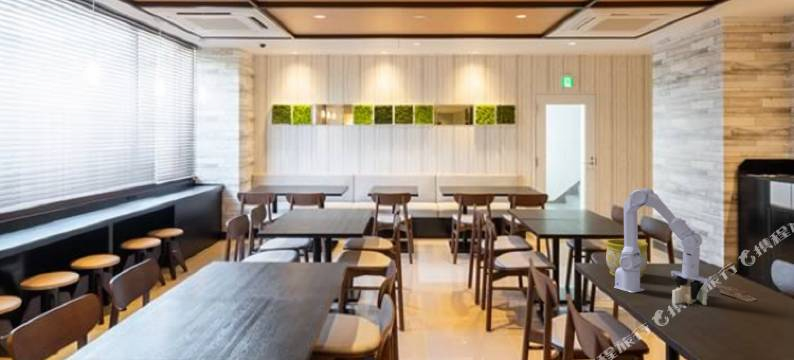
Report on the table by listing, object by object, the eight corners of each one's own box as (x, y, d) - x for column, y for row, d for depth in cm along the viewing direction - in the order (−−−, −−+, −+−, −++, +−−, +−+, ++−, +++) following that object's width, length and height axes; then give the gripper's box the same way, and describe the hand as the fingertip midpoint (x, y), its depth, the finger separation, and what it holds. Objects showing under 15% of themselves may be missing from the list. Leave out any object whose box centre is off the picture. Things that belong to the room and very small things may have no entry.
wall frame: (671, 303, 198) (671, 288, 198) (702, 295, 208) (703, 281, 208) (675, 304, 197) (676, 290, 196) (707, 296, 207) (708, 282, 206)
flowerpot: (605, 279, 235) (606, 244, 234) (605, 270, 251) (606, 237, 250) (648, 282, 228) (649, 246, 227) (645, 273, 245) (646, 239, 244)
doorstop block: (679, 300, 202) (680, 285, 201) (686, 298, 204) (686, 284, 203) (689, 303, 198) (689, 288, 198) (695, 301, 200) (696, 286, 200)
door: (703, 304, 195) (703, 292, 194) (695, 297, 204) (695, 285, 204) (708, 305, 194) (708, 292, 194) (700, 297, 204) (700, 285, 203)
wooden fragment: (763, 303, 197) (763, 300, 197) (731, 302, 199) (732, 299, 199) (732, 285, 223) (732, 283, 223) (704, 285, 225) (704, 282, 225)
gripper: (666, 261, 204) (665, 294, 205) (703, 269, 191) (701, 304, 192) (677, 259, 207) (675, 291, 209) (713, 267, 195) (711, 301, 196)
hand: (688, 297), depth 201 cm, fingers closed on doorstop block, 4 cm apart
